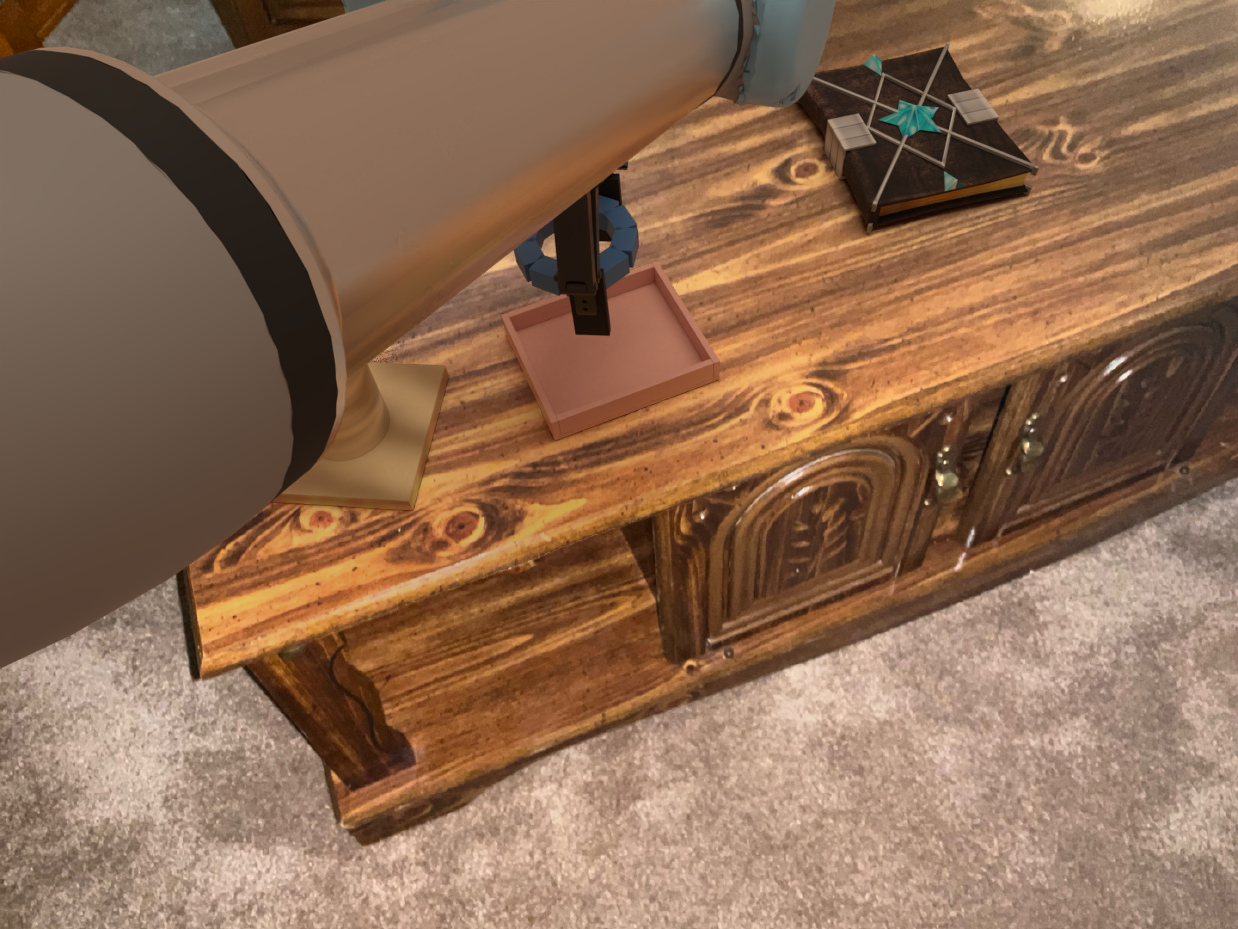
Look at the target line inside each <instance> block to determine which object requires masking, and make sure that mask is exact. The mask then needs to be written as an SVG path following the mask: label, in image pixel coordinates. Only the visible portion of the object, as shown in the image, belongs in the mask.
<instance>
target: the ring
mask: <svg viewBox="0 0 1238 929" xmlns="http://www.w3.org/2000/svg"><path fill="white" fill-rule="evenodd" d="M598 198H599V229H601V230H604V231H607V233H608V234H609V236H610V237H611V239H612V240H611V242H610V244H609V246H608V247H607V248H605V249H604V250H602V251H600V268H602V269H604V275H605V283H606V289H608V288H609V287H611V286H612V285H613V284H615V283H616V282H618V281H619V280H620V279H622V278H623V277H625V276H626V275H627V274H629V273H630V271H629V270H630V269H634V267H635V264H636V260H637V255H638V252H639V249H640V235H639V228H638V223H637V221H636V219H634V217H633V216H632V214H631V213H630V212H629V209H628V208H627V207H626V206H625V205H624V204H622V206H619V201H616V200H613V199H610V198H607V197H604V196H601V195H598ZM552 235H554V227H553V220H552V221H550V222H549V223H548V224H546V225H545V226H544V227H543V228H541V229H540V230H539V231H537V232H536V233H535V234H534V235H532V236H531V237H530V238H528V239H527V240H526V241H525V242H523V243H522V244H521V245H519V246H518V247H517V248H516V249H514V250H513V254H514V258H515V263H516V264H517V266H518V268H519V270H520V272H521V273H522V275H523V277H524V279H525V280H526V282H527V283H531V285H532V287H534V288H536V289H539V290H542V291H545V292H547V293H550V294H553V295H554V296H557V295H558V296H560V295H561V294H560V293H559V289H558V283H559V282H555V281H554V275H555V273H556V272H557V271H558V269H557V258H553V257H551V256H548V255H545V253H544V251H543V250H542V248H543V245H544V242H545V240H546V239H548V238H549V237H551V236H552ZM566 296H569V295H566Z"/></svg>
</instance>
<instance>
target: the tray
mask: <svg viewBox="0 0 1238 929" xmlns="http://www.w3.org/2000/svg"><path fill="white" fill-rule="evenodd" d="M629 271H630V273H629V274H627V275H626V276H625V277H623V278H622V279H620V280H619V281H618V282H616V283H615V284H613V285H612V286H611V287H609V288H608V289H606V292H607V300H608V308H609V317H610V325H611V331H610V336H597V335H575V329H574V322H573V316H572V310H571V304H570V298H569V296H566V295H563V294H561V295H560V296H558V295H554V296H551V297H548V298H546V299H543V300H541V301H536V302H535V303H532V304H528V305H526V306H523V307H519V308H517V309H514V310H512V311H508V312H507V313H502V314H501V315H500V318H501V322H502V326H503V329H504V334H505V336H506V338H507V340H508V342H509V345H510V346H511V349H512V351H513V353H514V356H515V357H516V360H517V362H518V364H519V367H520V368H521V372H522V373H523V376H524V377H525V379H526V381H527V383H528V386H529V388H530V389H531V392H532V394H533V397H534V399H535V401H536V403H537V405H538V407H539V410H540V412H541V414H542V416H543V418H544V420H545V422H546V425H547V426H548V429H549V431H550V434H551V435H552V437H553V439H554V441H558V440H560V439H564V438H566V437H569V436H571V435H574V434H576V433H579V432H582V431H584V430H587V429H590V428H593V427H595V426H598V425H600V424H604V423H606V422H609V421H611V420H614V419H617V418H620V417H622V416H625V415H628V414H630V413H634V412H636V411H639V410H641V409H644V408H646V407H649V406H651V405H654V404H657V403H660V402H662V401H665V400H668V399H670V398H673V397H676V396H678V395H682V394H684V393H687V392H689V391H692V390H695V389H697V388H700V387H702V386H705V385H708V384H711V383H713V382H716V381H718V380H720V371H721V370H720V366H721V360H720V359H719V357H718V356H717V354H716V353H715V351H714V349H713V348H712V346H711V344H710V343H709V341H708V340H707V338H706V336H705V335H704V332H702V330H701V328H700V327H699V325H698V324H697V322H696V320H695V319H694V318H693V316H692V315H691V314H692V313H690V311H689V309H688V308H687V306H686V305H685V303H684V301H683V300H682V297H681V296H680V295H679V293H678V292H677V290H676V289H675V287H674V285H673V284H672V282H671V281H670V279H669V277H668V276H667V274H666V273H665V271H664V270H663V268H662V266H661V265H660V263H659V261H657V260H656V261H653V262H652V261H651V262H649V263H647V264H644V265H641V266H638V267H635V268H631V269H629Z"/></svg>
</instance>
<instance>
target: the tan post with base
mask: <svg viewBox="0 0 1238 929" xmlns="http://www.w3.org/2000/svg"><path fill="white" fill-rule="evenodd" d="M449 377H450V375H449V371H448V369H447V366H446V365H444V364H426V363H425V364H422V363H403V362H402V363H401V362H399V363H397V362H396V363H395V362H379V361H378V362H377V361H376V362H375V361H374V362H373V361H371V362H369V363H368V364H367V365H366V366H364V367H363V368H362V369H360V370H359V371H358V372H357V373H355V374H354V375H353V376H351V377H350V378H349V379H348V380H347V390H346V404H345V409H344V414H343V418H342V423H341V426H340V428H339V430H338V433H337V435H336V437H335V439H334V442H333V444H332V445H331V447H330V448H329V449H328V451H327V452H326V453H325V455H324V456H323V457H322V459H321V460H320V461H318V462H317V463H316V464H315V465H314V466H313V467H312V468H311V469H310V470H309V471H308V472H307V473H305V474H304V475H303V476H301V477H300V478H299V479H298V480H297V481H295V482H294V483H293V484H292V485H291V486H289V487H288V488H287V489H286V490H285V491H284V492H282V493H281V494H280V495H279V496H278V497H276V498H275V499H274V500H273V501H272V502H271V503H282V504H300V505H316V506H333V507H348V508H349V507H350V508H366V509H380V510H381V509H382V510H395V511H396V510H399V511H414V508H415V505H416V500H417V497H418V494H419V489H420V487H421V486H420V485H421V482H422V479H423V474H424V471H425V467H426V464H427V460H428V457H429V456H428V455H429V452H430V448H431V444H432V441H433V437H434V433H435V430H436V427H437V422H438V419H439V415H440V411H441V407H442V404H443V400H444V395H445V392H446V388H447V385H448V380H449Z"/></svg>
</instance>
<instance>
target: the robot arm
mask: <svg viewBox="0 0 1238 929" xmlns="http://www.w3.org/2000/svg"><path fill="white" fill-rule="evenodd" d="M340 1H341V2H342V4H343V8H344V13H343V14H339V15H337V16H334V17H331V18H328V19H324V20H322V21H318V22H316V23H312V24H309V25H307V26H306V25H305V26H303V27H300V28H297V29H294V30H291V31H288V32H285V33H282V34H278V35H275V36H273V37H269V38H266V39H263V40H260V41H257V42H254V43H250V44H248V45H244V46H242V47H238V48H235V49H232V50H229V51H226V52H223V53H220V54H217V55H213V56H211V57H207V58H205V59H201V60H198V61H196V62H192V63H189V64H187V65H183V66H179V67H176V68H174V69H170V70H168V71H164V72H161V73H158V74H155V75H151V74H149V73H148V72H145V71H143V70H142V69H139V68H137V67H136V66H133V65H132V64H130V63H128V62H126V61H124V60H122V59H119V58H115V57H112V56H109V55H107V54H103V53H101V52H97V51H95V50H90V49H85V48H77V47H72V46H71V47H70V46H51V47H39V48H35V49H31V50H27V51H21V52H18V53H14V54H11V55H5V56H3V57H0V670H1V669H3V668H5V667H8V666H10V665H12V664H14V663H15V662H17V661H21V660H22V659H24V658H27V657H29V656H30V655H32V654H34V653H36V652H39V651H41V650H44V649H45V648H47V647H50V646H51V645H54V644H55V643H58V642H60V641H62V640H64V639H67V638H68V637H70V636H72V635H74V634H76V633H78V632H79V631H81V630H83V629H85V628H86V627H88V626H90V625H92V624H93V623H95V622H97V621H99V620H100V619H102V618H104V617H106V616H108V615H110V614H111V613H113V612H114V611H116V610H118V609H120V608H121V607H124V606H125V605H127V604H129V603H130V602H132V601H134V600H135V599H137V598H140V597H141V596H143V595H145V594H146V593H148V592H150V591H152V589H155V588H156V587H158V586H160V585H161V584H163V583H166V582H167V581H169V580H170V579H171V578H173V577H174V576H176V575H177V574H178V573H180V572H182V571H183V570H184V569H185V568H187V567H189V566H190V565H191V564H193V563H194V562H196V561H197V560H199V559H200V558H201V557H203V556H204V555H206V554H207V553H209V552H210V551H212V550H213V549H214V548H216V547H217V546H219V545H220V544H221V543H223V542H225V541H226V540H227V539H230V537H232V536H234V534H236V533H237V532H238V531H239V530H240V529H242V528H243V527H244V526H245V525H247V524H248V523H249V522H250V521H251V520H253V518H255V517H256V516H257V515H259V514H260V513H261V512H262V511H263V510H264V509H265V508H267V507H268V506H269V505H270V503H273V502H272V501H273V500H274V499H275V498H276V497H278V496H279V495H280V494H281V493H282V492H284V491H285V490H286V489H287V488H288V487H289V486H291V485H292V484H293V483H294V482H295V481H297V480H298V479H299V478H300V477H301V476H303V475H304V474H305V473H307V472H308V471H309V470H310V469H311V468H312V467H313V466H314V465H315V464H316V463H317V462H318V461H320V460H321V459H322V457H323V456H324V455H325V453H326V452H327V451H328V449H329V448H330V447H331V445H332V444H333V442H334V439H335V437H336V435H337V433H338V430H339V428H340V426H341V423H342V418H343V414H344V409H345V404H346V390H347V380H348V379H349V378H350V377H351V376H353V375H354V374H355V373H357V372H358V371H359V370H360V369H362V368H363V367H364V366H366V365H367V364H368V363H369V362H373V361H374V359H376V358H378V356H380V355H381V354H382V353H383V352H385V351H386V350H387V349H389V348H390V347H391V346H392V345H394V344H395V343H396V342H398V341H399V340H401V339H402V338H403V337H405V336H406V335H407V334H408V333H409V332H411V331H412V330H413V329H415V328H416V327H417V326H418V325H420V324H421V323H422V322H423V321H425V320H426V319H428V318H429V317H430V316H431V315H433V314H434V313H435V312H436V311H438V310H439V309H440V308H442V307H443V306H444V305H445V304H446V303H448V302H449V301H451V300H452V299H453V298H454V297H456V296H457V295H458V294H459V293H461V292H462V291H463V290H465V289H466V288H467V287H468V286H470V285H471V284H472V283H474V282H475V281H476V280H477V279H479V278H481V276H482V275H484V274H485V273H486V272H488V271H489V270H490V269H492V268H493V267H494V266H495V265H497V264H498V263H499V262H500V261H501V260H503V259H504V258H505V257H507V256H508V255H509V254H511V253H512V252H514V249H516V248H517V247H518V246H519V245H521V244H522V243H523V242H525V241H526V240H527V239H528V238H530V237H531V236H532V235H534V234H535V233H536V232H537V231H539V230H540V229H541V228H543V227H544V226H545V225H546V224H548V223H549V222H550V221H552V220H553V227H554V234H553V235H554V237H553V238H554V247H555V248H554V249H555V257H556V258H555V259H557V269H558V271H557V272H556V273H555V275H554V281H555V282H559V283H558V289H559V293H560V294H563V295H569V298H570V304H571V310H572V316H573V322H574V329H575V335H597V336H610V331H611V325H610V317H609V308H608V300H607V292H606V283H605V275H604V269H602V268H600V253H601V250H600V243H602V242H603V243H604V242H605V243H606V242H607V243H611V240H612V239H611V237H610V236H609V234H608V233H607V231H604V230H601V229H599V198H598V195H601V196H604V197H607V198H610V199H613V200H616V201H619V206H622V205H623V198H622V187H621V176H620V173H615V171H628V169H629V161H630V160H631V159H632V158H634V157H635V156H636V155H638V154H639V153H641V151H643V150H644V149H646V148H647V147H648V146H649V145H651V143H653V142H654V141H656V140H657V139H658V138H660V137H661V136H662V135H663V134H664V133H666V132H667V131H668V130H670V129H671V128H672V127H673V126H675V125H676V124H677V123H679V122H680V121H681V120H683V119H684V118H685V117H686V116H687V115H689V114H690V113H691V112H693V111H694V110H696V109H698V108H699V107H701V106H702V105H704V104H705V103H707V102H708V101H709V100H711V99H712V98H722V99H725V100H728V101H732V102H733V105H736V104H737V105H738V106H740V107H742V106H745V105H753V106H759V107H761V106H762V107H766V108H767V107H768V108H775V109H777V108H778V109H779V108H780V109H782V108H786V107H787V108H788V107H790V106H792V105H794V104H795V103H797V102H796V101H798V100H799V99H800V98H801V97H802V96H803V94H804V93H805V91H806V90H807V88H808V87H809V85H810V83H811V81H812V79H813V77H814V75H815V73H816V72H817V70H818V68H819V66H820V62H821V59H822V57H823V53H824V51H825V47H826V44H827V41H828V37H829V34H830V30H831V25H832V21H833V17H834V11H835V7H836V2H837V1H836V0H340Z"/></svg>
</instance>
